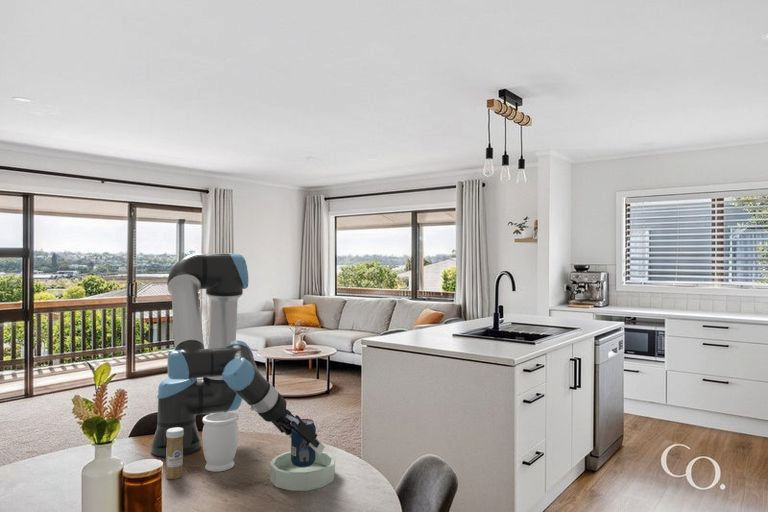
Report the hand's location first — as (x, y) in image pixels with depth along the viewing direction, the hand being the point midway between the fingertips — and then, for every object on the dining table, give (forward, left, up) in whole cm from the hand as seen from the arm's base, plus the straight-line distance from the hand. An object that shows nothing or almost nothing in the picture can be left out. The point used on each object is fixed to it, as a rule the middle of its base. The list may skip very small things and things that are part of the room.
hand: (312, 447), depth 151 cm
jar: (-18, -22, -8) cm, 30 cm away
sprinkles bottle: (-17, -35, -8) cm, 40 cm away
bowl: (+1, -3, -8) cm, 8 cm away
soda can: (+1, -3, -4) cm, 5 cm away
